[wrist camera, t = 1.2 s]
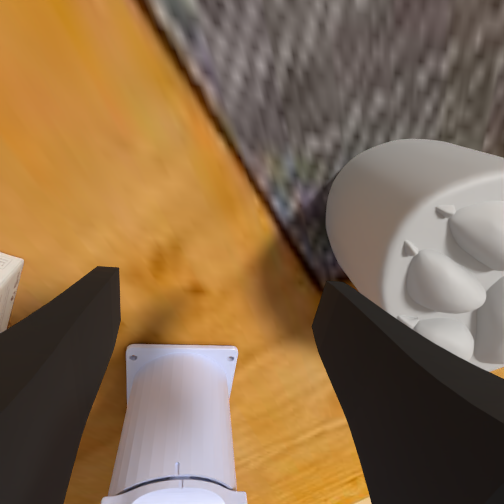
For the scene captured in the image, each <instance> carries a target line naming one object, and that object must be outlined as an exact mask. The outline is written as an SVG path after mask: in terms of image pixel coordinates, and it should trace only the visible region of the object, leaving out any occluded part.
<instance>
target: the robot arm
mask: <svg viewBox="0 0 504 504" xmlns="http://www.w3.org/2000/svg"><path fill="white" fill-rule="evenodd" d="M120 321H121V315H120V283H119V268H117V267H101V266H97V267H96V268H95V269H93V270H92V271H91V272H89V273H88V274H87V275H85V276H84V277H83V278H81V279H80V280H79V281H77V282H76V283H75V284H73V285H72V286H71V287H69V288H68V289H67V290H65V291H64V292H63V293H61V294H60V295H59V296H57V297H56V298H54V299H53V300H52V301H50V302H49V303H47V304H46V305H44V306H43V307H41V308H40V309H38V310H37V311H35V312H34V313H32V314H31V315H29V316H28V317H26V318H25V319H23V320H21V321H20V322H18V323H17V324H15V325H13V326H12V327H10V328H9V329H7V330H5V331H3V332H2V333H0V504H63V503H64V499H65V495H66V492H67V488H68V484H69V480H70V476H71V473H72V469H73V465H74V462H75V458H76V454H77V451H78V447H79V443H80V440H81V436H82V433H83V430H84V427H85V424H86V421H87V418H88V416H89V413H90V410H91V408H92V405H93V403H94V400H95V397H96V395H97V392H98V389H99V387H100V384H101V382H102V379H103V376H104V374H105V371H106V369H107V366H108V363H109V361H110V358H111V355H112V352H113V350H114V346H115V342H116V338H117V334H118V329H119V325H120ZM312 329H313V333H314V338H315V341H316V345H317V348H318V352H319V355H320V357H321V360H322V362H323V364H324V367H325V369H326V372H327V374H328V376H329V379H330V381H331V383H332V386H333V388H334V390H335V393H336V395H337V397H338V400H339V402H340V404H341V407H342V409H343V411H344V414H345V417H346V419H347V422H348V424H349V427H350V430H351V434H352V437H353V440H354V443H355V446H356V450H357V453H358V456H359V459H360V463H361V466H362V470H363V473H364V477H365V480H366V484H367V487H368V491H369V495H370V499H371V503H372V504H504V379H503V378H500V377H498V376H496V375H494V374H492V373H490V372H488V371H486V370H484V369H482V368H480V367H478V366H476V365H474V364H472V363H470V362H468V361H466V360H464V359H462V358H460V357H458V356H456V355H455V354H453V353H451V352H449V351H447V350H446V349H444V348H442V347H440V346H439V345H437V344H435V343H433V342H432V341H430V340H428V339H427V338H425V337H424V336H422V335H420V334H419V333H417V332H416V331H414V330H413V329H411V328H410V327H408V326H407V325H405V324H404V323H402V322H401V321H399V320H398V319H396V318H395V317H393V316H392V315H390V314H389V313H388V312H386V311H385V310H383V309H382V308H381V307H379V306H378V305H376V304H375V303H374V302H372V301H371V300H369V299H368V298H367V297H365V296H364V295H362V294H361V293H359V292H358V291H357V290H355V289H354V288H352V287H350V286H349V285H347V284H346V283H344V282H337V281H326V284H325V287H324V290H323V293H322V296H321V299H320V302H319V305H318V309H317V312H316V315H315V318H314V321H313V324H312ZM132 355H135V356H132ZM229 357H230V358H229ZM237 357H238V349H237V347H235V346H215V345H163V344H131V345H129V346H128V347H127V350H126V377H127V411H126V415H125V420H124V424H123V429H122V433H121V438H120V442H119V447H118V451H117V456H116V460H115V465H114V470H113V474H112V479H111V483H110V488H109V492H108V496H107V497H103V498H102V500H101V504H247V497H246V492H244V491H237V485H236V474H235V463H234V451H233V440H232V429H231V417H230V406H229V398H230V393H231V388H232V382H233V377H234V372H235V367H236V362H237Z"/></svg>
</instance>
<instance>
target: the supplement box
mask: <svg viewBox="0 0 504 504" xmlns="http://www.w3.org/2000/svg"><path fill="white" fill-rule="evenodd" d="M23 264H24V260H23V259H21V258H18V257H14V256H11V255H8V254H4V253H1V252H0V333H2V332H3V331H5V330H7V326H8V322H9V318H10V314H11V310H12V307H13V303H14V299H15V295H16V292H17V287H18V284H19V280H20V275H21V272H22V268H23Z"/></svg>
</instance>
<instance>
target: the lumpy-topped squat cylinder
mask: <svg viewBox="0 0 504 504" xmlns="http://www.w3.org/2000/svg"><path fill="white" fill-rule="evenodd" d="M326 230H327V235H328V238H329V241H330V245H331V247H332V250H333V253H334V255H335V257H336V260H337V262H338V264H339V265H340V267H341V268H342V269H343V271H344V272H345V273H346V275H347V276H348V278H349V279H350V280H351V282H352V283H353V284H354V286H355V287H356V288H357V290H358V291H359V293H361V294H362V295H364V296H365V297H367V298H368V299H369V300H371V301H372V302H374V303H375V304H376V305H378V306H379V307H381V308H382V309H383V310H385V311H386V312H388V313H389V314H390V315H392V316H393V317H395V318H396V319H398V320H399V321H401V322H402V323H404V324H405V325H407V326H408V327H410V328H411V329H413V330H414V331H416V332H417V333H419V334H420V335H422V336H424V337H425V338H427V339H428V340H430V341H432V342H433V343H435V344H437V345H439V346H440V347H442V348H444V349H446V350H447V351H449V352H451V353H453V354H455V355H456V356H458V357H460V358H462V359H464V360H466V361H468V362H470V363H472V364H474V365H476V366H478V367H480V368H482V369H484V370H486V371H488V372H490V371H493V370H496V369H499V368H502V367H504V158H502V157H498V156H495V155H491V154H487V153H484V152H480V151H476V150H473V149H469V148H465V147H462V146H458V145H454V144H451V143H447V142H443V141H436V140H426V139H401V140H395V141H391V142H387V143H384V144H381V145H378V146H375V147H373V148H370V149H368V150H366V151H364V152H362V153H360V154H359V155H357V156H356V157H354V158H353V159H352V160H350V161H349V162H348V163H347V164H346V165H345V166H344V167H343V168H342V170H341V171H340V172H339V174H338V175H337V177H336V178H335V180H334V182H333V184H332V186H331V189H330V192H329V196H328V200H327V207H326Z"/></svg>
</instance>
